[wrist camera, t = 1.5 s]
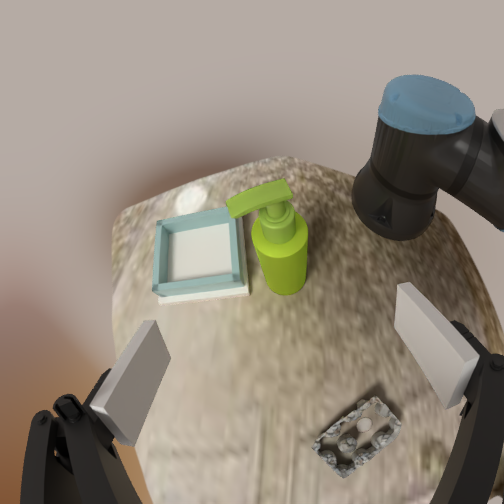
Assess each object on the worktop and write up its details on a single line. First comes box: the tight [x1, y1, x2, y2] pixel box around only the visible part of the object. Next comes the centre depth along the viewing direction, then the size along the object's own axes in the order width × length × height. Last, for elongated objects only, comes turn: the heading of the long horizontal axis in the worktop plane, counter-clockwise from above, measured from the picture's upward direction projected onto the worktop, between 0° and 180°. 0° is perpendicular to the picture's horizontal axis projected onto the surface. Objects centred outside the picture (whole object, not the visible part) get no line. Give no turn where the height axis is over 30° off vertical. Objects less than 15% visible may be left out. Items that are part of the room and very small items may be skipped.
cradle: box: [152, 207, 250, 306], centre depth 41 cm, size 14×14×4 cm
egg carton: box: [312, 395, 402, 478], centre depth 27 cm, size 11×8×4 cm
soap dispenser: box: [226, 178, 308, 295], centre depth 31 cm, size 6×7×20 cm
